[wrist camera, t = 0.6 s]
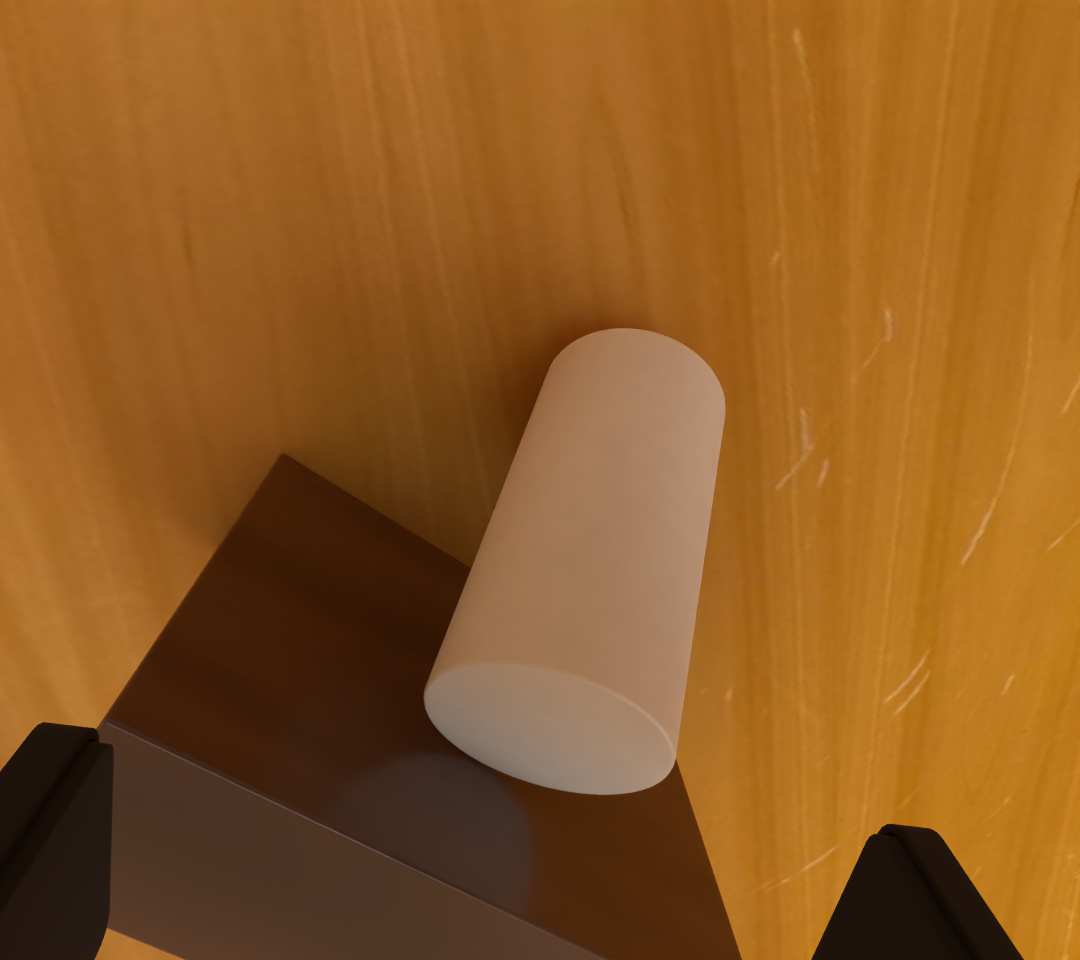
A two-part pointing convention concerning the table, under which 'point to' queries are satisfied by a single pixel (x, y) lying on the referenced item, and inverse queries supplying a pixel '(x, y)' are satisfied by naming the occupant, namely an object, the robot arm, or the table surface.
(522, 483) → the paper roll
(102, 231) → the table surface
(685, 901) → the wooden block
